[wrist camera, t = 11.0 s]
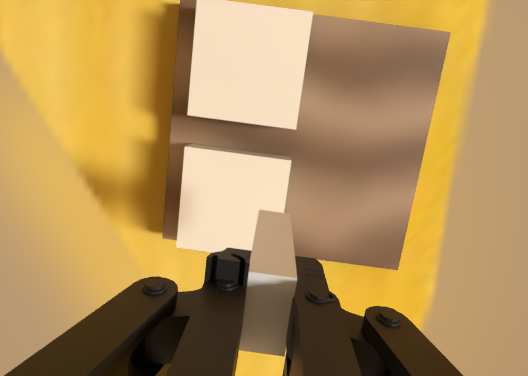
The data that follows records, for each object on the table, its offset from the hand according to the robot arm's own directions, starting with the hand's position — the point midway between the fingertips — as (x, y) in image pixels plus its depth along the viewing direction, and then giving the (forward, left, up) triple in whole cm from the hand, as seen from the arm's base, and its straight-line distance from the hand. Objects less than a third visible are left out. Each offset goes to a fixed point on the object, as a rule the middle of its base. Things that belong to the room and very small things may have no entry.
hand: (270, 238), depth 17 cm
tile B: (+1, +1, -8) cm, 8 cm away
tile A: (-8, +1, -8) cm, 12 cm away
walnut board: (-4, +1, -11) cm, 12 cm away
